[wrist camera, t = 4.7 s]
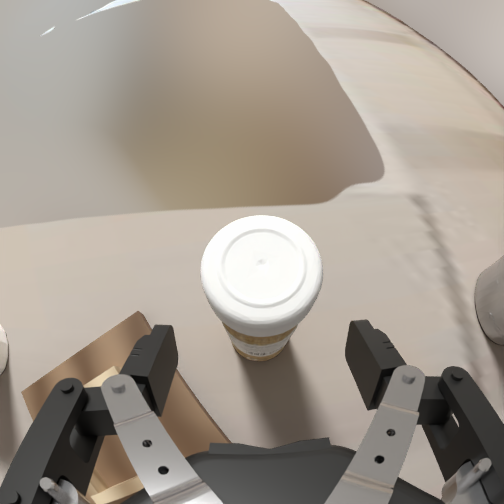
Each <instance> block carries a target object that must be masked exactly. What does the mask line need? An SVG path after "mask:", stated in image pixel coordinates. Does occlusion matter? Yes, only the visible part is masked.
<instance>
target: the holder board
mask: <svg viewBox="0 0 504 504" xmlns="http://www.w3.org/2000/svg"><path fill="white" fill-rule="evenodd" d="M151 332H152V329H151V327H150V325H149V324H148V322H147V320H146V318H145V317H144V315H143V314H142V313H140V312H139V311H137V312H136V313H134V314H133V315H131V316H130V317H128V318H127V319H125V320H124V321H122V322H121V323H120V324H118V325H117V326H115V327H114V328H112V329H111V330H109V331H108V332H106V333H105V334H104V335H102V336H101V337H99V338H98V339H96V340H95V341H93V342H92V343H90V344H89V345H88V346H86V347H85V348H83V349H82V350H80V351H79V352H77V353H76V354H75V355H73V356H72V357H70V358H69V359H67V360H66V361H65V362H63V363H62V364H60V365H59V366H57V367H56V368H55V369H53V370H52V371H50V372H49V373H48V374H46V375H45V376H43V377H42V378H40V379H39V380H38V381H36V382H35V383H33V384H32V385H31V386H29V387H28V388H26V389H25V390H24V391H22V395H23V398H24V400H25V403H26V405H27V408H28V410H29V412H30V415H31V417H32V419H33V421H34V419H35V418H36V416H37V414H38V413H39V411H40V409H41V407H42V406H43V404H44V402H45V401H46V399H47V397H48V396H49V394H50V392H51V391H52V389H53V388H54V386H55V385H56V384H57V383H58V382H59V381H61V380H63V379H65V378H76V379H78V380H80V381H81V382H82V384H83V386H84V388H86V387H99V386H102V383H103V382H104V381H105V380H106V379H107V378H109V377H110V376H113V375H117V374H119V373H120V371H121V369H122V367H123V365H124V363H125V362H126V360H127V358H128V356H129V355H130V353H131V351H132V349H133V347H134V345H135V344H136V342H137V340H139V339H140V338H141V337H142V336H144V335H150V334H151ZM158 419H159V421H160V422H161V424H162V425H163V427H164V428H165V430H166V432H167V433H168V435H169V436H170V438H171V439H172V441H173V442H174V443H175V445H176V446H177V448H178V449H179V451H180V452H181V453H182V455H183V456H184V458H186V457H188V456H190V455H192V454H195V453H198V452H203V451H208V450H209V445H210V443H231V441H230V440H229V439H228V438H227V437H226V435H225V434H224V433H223V432H222V430H221V429H220V428H219V427H218V425H217V424H216V423H215V421H214V420H213V419H212V418H211V416H210V415H209V414H208V412H207V411H206V410H205V408H204V407H203V406H202V404H201V403H200V402H199V400H198V399H197V398H196V396H195V395H194V393H193V392H192V391H191V389H190V388H189V386H188V385H187V383H186V382H185V381H184V379H183V378H182V376H181V375H180V373H179V372H178V370H177V369H176V371H175V374H174V378H173V381H172V384H171V387H170V390H169V394H168V397H167V400H166V403H165V407H164V410H163V413H162V417H158ZM143 488H144V486H143V484H142V482H141V480H140V479H139V477H138V475H137V473H136V471H135V469H134V467H133V466H132V464H131V462H130V460H129V458H128V456H127V454H126V452H125V449H124V447H123V445H122V443H121V441H120V439H119V436H118V435H106V436H105V437H104V440H103V443H102V446H101V449H100V452H99V455H98V458H97V461H96V464H95V467H94V470H93V474H92V477H91V480H90V483H89V487H88V490H87V493H86V498H87V499H88V500H89V501H90V503H91V504H120V503H122V502H123V501H125V500H127V499H128V498H130V497H131V496H133V495H134V494H135V493H137V492H138V491H140V490H141V489H143Z"/></svg>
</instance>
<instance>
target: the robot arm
mask: <svg viewBox="0 0 504 504" xmlns="http://www.w3.org/2000/svg"><path fill="white" fill-rule="evenodd" d="M475 304H476V311H477V315H478V319H479V321H480V324H481V326H482V328H483V330H484V332H485V333H486V335H487V336H488V337H489V338H490V339H491V340H492V341H493V342H495V343H497V344H499V345H504V256H503V257H501V258H500V259H499V260H497V261H496V262H495V263H494V264H492V265H491V266H490V267H488V268H487V269H486V270H484V271H483V272H482V273H481V274H480V276H479V278H478V280H477V284H476V289H475ZM345 357H346V361H347V363H348V366H349V368H350V370H351V373H352V375H353V377H354V379H355V382H356V384H357V386H358V389H359V391H360V394H361V396H362V398H363V401H364V403H365V406H366V408H367V410H372V409H377V412H376V414H375V416H374V418H373V421H372V423H371V425H370V427H369V429H368V431H367V433H366V435H365V437H364V439H363V441H362V443H361V445H360V446H359V448H358V450H357V452H356V451H354V450H352V449H349V448H346V447H342V446H336V445H331V444H330V440H329V438H321V439H313V440H303V441H298V442H295V443H291V444H288V445H284V446H280V447H277V448H272V449H267V448H261V447H255V446H249V445H244V444H239V443H210V445H209V450H208V451H203V452H198V453H195V454H192V455H190V456H188V457H186V458H184V456H183V455H182V453H181V452H180V451H179V449H178V448H177V446H176V445H175V443H174V442H173V441H172V439H171V438H170V436H169V435H168V433H167V432H166V430H165V428H164V427H163V425H162V424H161V422H160V421H159V419H158V417H162V413H163V410H164V407H165V403H166V400H167V397H168V394H169V390H170V387H171V384H172V381H173V378H174V374H175V371H176V368H177V365H178V351H177V346H176V341H175V336H174V330H173V327H172V326H171V325H155V326H154V328H153V330H152V332H151V334H150V335H144V336H142V337H141V338H140V339H139V340H137V342H136V344H135V345H134V347H133V349H132V351H131V353H130V355H129V356H128V358H127V360H126V362H125V363H124V365H123V367H122V369H121V371H120V373H119V374H117V375H113V376H110V377H109V378H107V379H106V380H105V381H104V382H103V383H102V386H99V387H86V388H84V386H83V384H82V382H81V381H80V380H78V379H76V378H65V379H63V380H61V381H59V382H58V383H57V384H56V385H55V386H54V388H53V389H52V391H51V392H50V394H49V396H48V397H47V399H46V401H45V402H44V404H43V406H42V407H41V409H40V411H39V413H38V414H37V416H36V418H35V419H34V421H33V423H32V425H31V427H30V428H29V430H28V432H27V434H26V436H25V438H24V440H23V441H22V443H21V445H20V447H19V449H18V451H17V453H16V455H15V457H14V459H13V461H12V463H11V465H10V467H9V469H8V472H7V474H6V476H5V478H4V480H3V483H2V485H1V487H0V504H91V503H90V501H89V500H88V499H87V498H86V493H87V490H88V487H89V483H90V480H91V477H92V474H93V470H94V467H95V464H96V461H97V458H98V455H99V452H100V449H101V446H102V443H103V440H104V437H105V436H106V435H118V436H119V439H120V441H121V443H122V445H123V447H124V449H125V452H126V454H127V456H128V458H129V460H130V462H131V464H132V466H133V467H134V469H135V471H136V473H137V475H138V477H139V479H140V480H141V482H142V484H143V486H144V488H143V489H141V490H140V491H138V492H137V493H135V494H134V495H133V496H131V497H130V498H128V499H127V500H125V501H123V502H122V503H120V504H504V424H503V423H502V421H501V419H500V418H499V416H498V415H497V413H496V412H495V410H494V409H493V407H492V406H491V404H490V403H489V401H488V400H487V398H486V397H485V396H484V394H483V393H482V391H481V390H480V388H479V387H478V386H477V384H476V383H475V382H474V380H473V379H472V377H471V376H470V375H469V373H468V372H467V371H466V370H464V369H462V368H460V367H456V366H451V367H447V368H446V369H444V371H443V373H442V375H441V377H430V376H425V375H424V373H423V372H422V371H421V370H420V369H419V368H417V367H414V366H410V365H407V364H406V363H405V361H404V360H403V358H402V357H401V356H400V354H399V353H398V351H397V350H396V348H394V345H393V344H392V342H391V341H390V340H389V338H388V337H387V335H386V334H385V333H383V332H382V331H380V330H379V329H374V328H373V327H372V325H371V324H370V323H369V321H368V320H357V321H351V322H350V326H349V331H348V337H347V342H346V348H345ZM453 413H454V415H455V417H456V419H457V420H458V423H459V427H458V425H457V424H456V422H455V420H454V418H453V416H452V414H453ZM416 425H422V427H423V430H424V432H425V434H426V436H427V439H428V441H429V443H430V445H431V448H432V450H433V453H434V455H435V457H436V460H437V462H438V465H439V467H440V470H441V472H442V475H443V477H444V480H445V482H446V483H445V484H444V486H443V488H442V498H441V500H440V499H438V498H436V497H434V496H432V495H430V494H428V493H426V492H424V491H423V490H421V489H419V488H417V487H415V486H413V485H411V484H410V483H408V482H406V481H404V480H402V479H401V478H399V477H398V475H399V473H400V470H401V468H402V465H403V462H404V460H405V457H406V454H407V452H408V449H409V446H410V443H411V440H412V437H413V434H414V430H415V427H416Z"/></svg>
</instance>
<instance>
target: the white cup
mask: <svg viewBox="0 0 504 504" xmlns="http://www.w3.org/2000/svg"><path fill="white" fill-rule="evenodd" d="M7 359H8V342H7V337H6V333H5V331H4V329H3V328H2V326H1V325H0V375H1V373H2V372H3V371H4V369H5V366H6V363H7Z"/></svg>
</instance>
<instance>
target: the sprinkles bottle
mask: <svg viewBox="0 0 504 504" xmlns="http://www.w3.org/2000/svg"><path fill="white" fill-rule="evenodd" d="M322 280H323V265H322V260H321V257H320V254H319V251H318V249H317V247H316V245H315V243H314V242H313V241H312V239H311V238H310V237H309V236H308V235H307V234H306V233H305V232H304V231H303V230H302V229H301V228H299V227H298V226H296V225H295V224H293V223H291V222H289V221H287V220H284V219H282V218H278V217H273V216H259V215H258V216H250V217H245V218H242V219H239V220H236V221H234V222H232V223H230V224H228V225H227V226H225V227H224V228H223V229H221V230H220V231H219V232H218V233H217V234H216V235H215V236H214V237H213V238H212V240H211V241H210V242H209V244H208V246H207V247H206V249H205V252H204V254H203V257H202V262H201V282H202V286H203V290H204V292H205V295H206V297H207V299H208V302H209V304H210V306H211V307H212V309H213V311H214V312H215V314H216V315H217V316H218V317H219V319H220V320H221V321H222V323H223V325H224V327H225V329H226V331H227V333H228V335H229V337H230V339H231V341H232V344H233V346H234V348H235V349H236V350H237V352H238V353H239V354H240V355H241V356H243V357H245V358H246V359H249V360H252V361H266V360H269V359H271V358H273V357H275V356H277V355H278V354H279V353H280V352H281V351H282V350H283V348H284V346H285V344H286V343H287V341H288V340H289V338H290V337H291V335H292V334H293V332H294V331H295V329H296V328H297V325H298V323H300V322H301V321H302V320H303V319H304V318H305V316H306V315H307V314H308V312H309V311H310V309H311V308H312V306H313V304H314V302H315V300H316V299H317V296H318V294H319V291H320V289H321V285H322Z"/></svg>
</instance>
